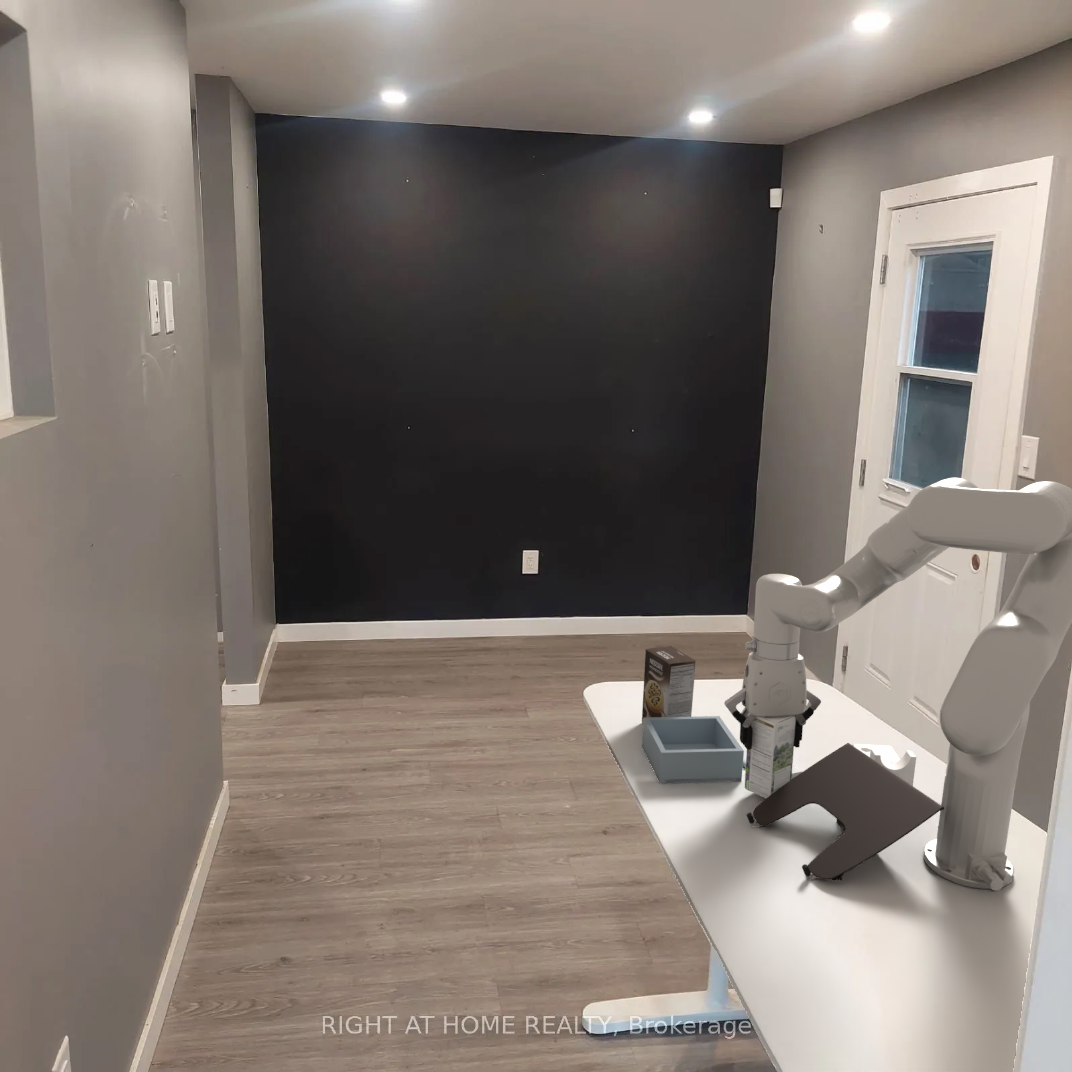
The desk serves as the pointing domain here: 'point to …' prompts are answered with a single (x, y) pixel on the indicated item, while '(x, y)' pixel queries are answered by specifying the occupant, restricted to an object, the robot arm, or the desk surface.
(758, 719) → the syrup box
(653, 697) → the coffee box
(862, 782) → the portable electronic device stand
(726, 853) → the desk surface
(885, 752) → the bracket
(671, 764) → the bin
